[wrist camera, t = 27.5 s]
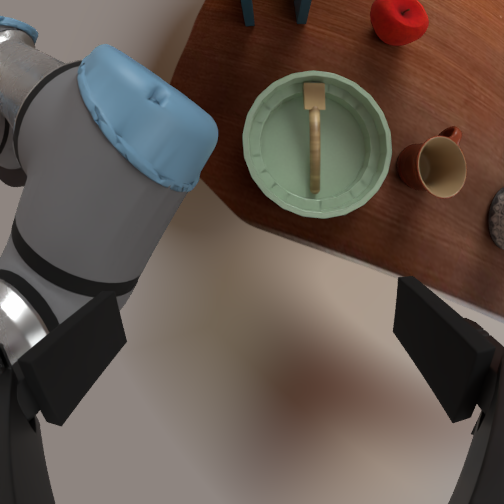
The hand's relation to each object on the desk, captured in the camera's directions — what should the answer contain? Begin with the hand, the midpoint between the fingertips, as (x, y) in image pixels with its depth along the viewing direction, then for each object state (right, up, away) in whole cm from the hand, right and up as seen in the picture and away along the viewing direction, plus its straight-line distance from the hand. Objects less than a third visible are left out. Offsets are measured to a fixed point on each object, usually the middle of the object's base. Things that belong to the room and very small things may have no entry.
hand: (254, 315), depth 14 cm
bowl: (+9, +19, +33) cm, 39 cm away
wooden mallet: (+9, +19, +29) cm, 36 cm away
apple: (+23, +40, +27) cm, 53 cm away
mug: (+27, +18, +32) cm, 46 cm away
